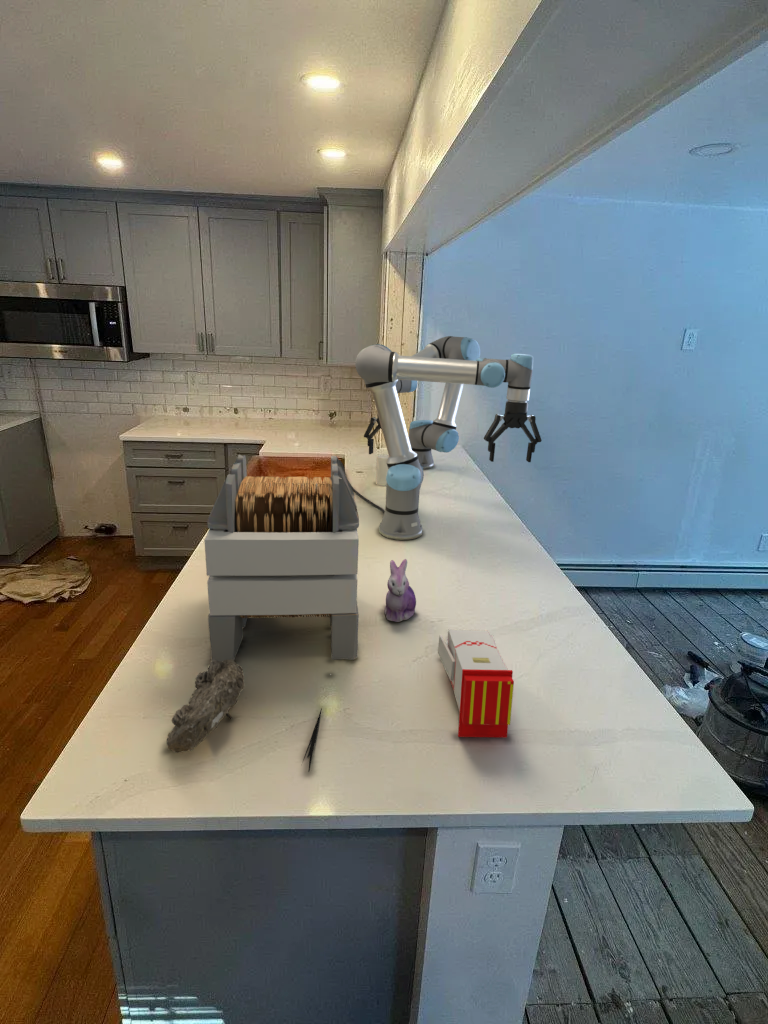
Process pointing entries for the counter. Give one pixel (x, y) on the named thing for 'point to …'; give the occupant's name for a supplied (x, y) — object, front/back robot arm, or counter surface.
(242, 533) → the record crate
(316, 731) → the feather
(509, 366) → the front robot arm
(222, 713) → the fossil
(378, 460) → the canister
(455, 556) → the counter surface
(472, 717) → the toy
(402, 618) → the figurine
